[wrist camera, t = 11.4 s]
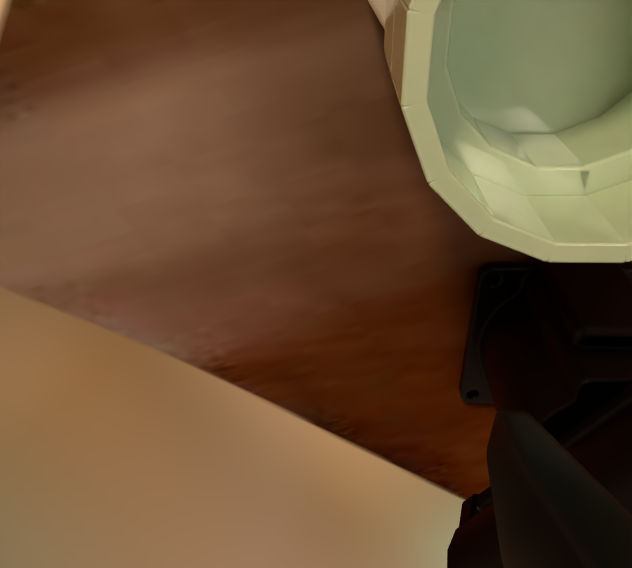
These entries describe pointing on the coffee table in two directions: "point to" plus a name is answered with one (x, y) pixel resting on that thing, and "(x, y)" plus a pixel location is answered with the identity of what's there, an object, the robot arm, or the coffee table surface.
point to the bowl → (522, 118)
